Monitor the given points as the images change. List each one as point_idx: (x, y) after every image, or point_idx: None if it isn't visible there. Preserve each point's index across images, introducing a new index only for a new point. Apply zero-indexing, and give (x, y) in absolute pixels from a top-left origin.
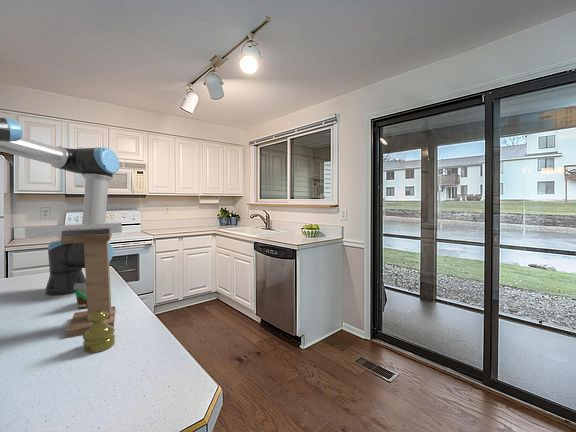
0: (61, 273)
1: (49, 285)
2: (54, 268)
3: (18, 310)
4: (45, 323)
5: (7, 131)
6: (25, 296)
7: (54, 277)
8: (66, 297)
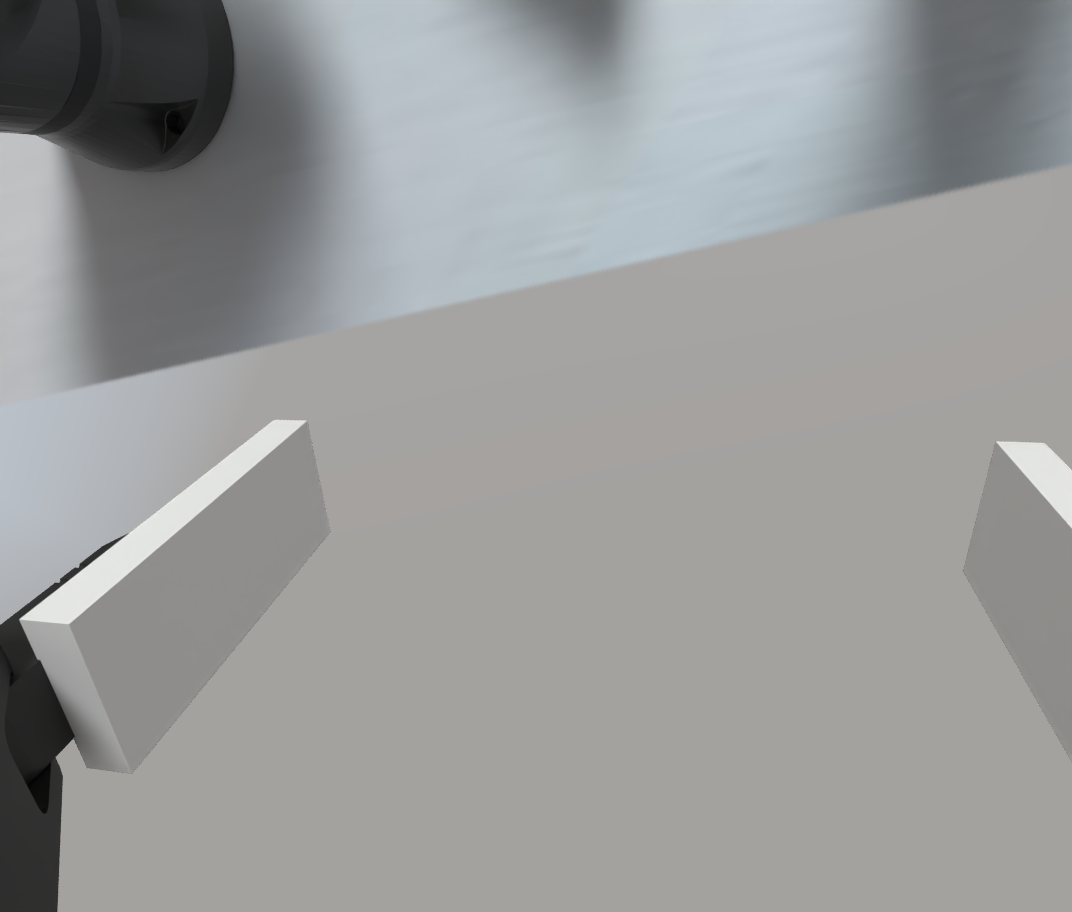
0: (96, 34)
1: (152, 136)
2: (53, 80)
3: (436, 246)
4: (783, 33)
5: None
6: (188, 270)
7: (115, 93)
8: (299, 17)
